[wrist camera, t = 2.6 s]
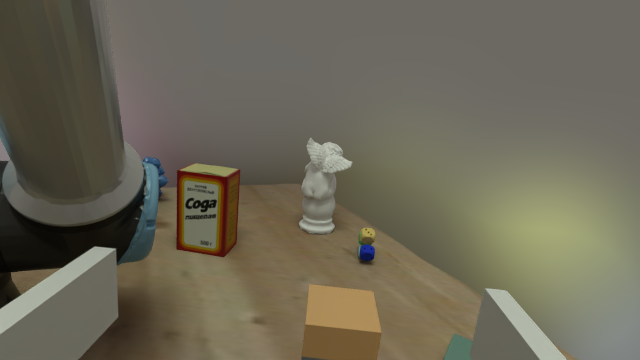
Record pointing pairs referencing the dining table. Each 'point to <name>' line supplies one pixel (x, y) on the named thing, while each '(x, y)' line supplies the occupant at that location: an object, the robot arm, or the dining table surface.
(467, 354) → the mat
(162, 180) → the grapes
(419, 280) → the dining table surface
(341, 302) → the plug
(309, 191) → the cherub figurine
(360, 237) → the dice
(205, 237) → the baking soda box
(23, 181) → the robot arm
